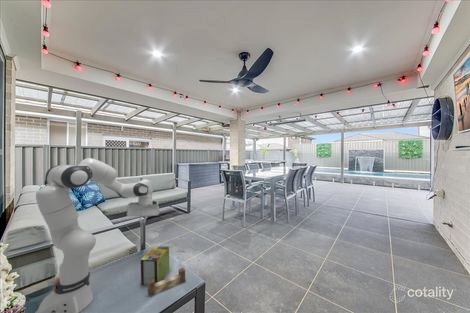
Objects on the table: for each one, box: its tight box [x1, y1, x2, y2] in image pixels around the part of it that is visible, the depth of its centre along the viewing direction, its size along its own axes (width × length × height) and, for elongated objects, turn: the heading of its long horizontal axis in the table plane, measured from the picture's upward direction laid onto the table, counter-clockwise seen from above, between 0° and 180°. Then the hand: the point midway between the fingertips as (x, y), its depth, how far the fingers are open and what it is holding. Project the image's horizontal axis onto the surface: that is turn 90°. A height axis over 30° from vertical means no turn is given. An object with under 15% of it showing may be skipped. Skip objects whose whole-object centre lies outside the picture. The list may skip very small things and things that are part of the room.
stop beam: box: [147, 267, 186, 297], centre depth 104 cm, size 20×4×7 cm, turn 124°
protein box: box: [140, 245, 170, 287], centre depth 112 cm, size 10×15×16 cm
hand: (142, 223), depth 124 cm, fingers closed
